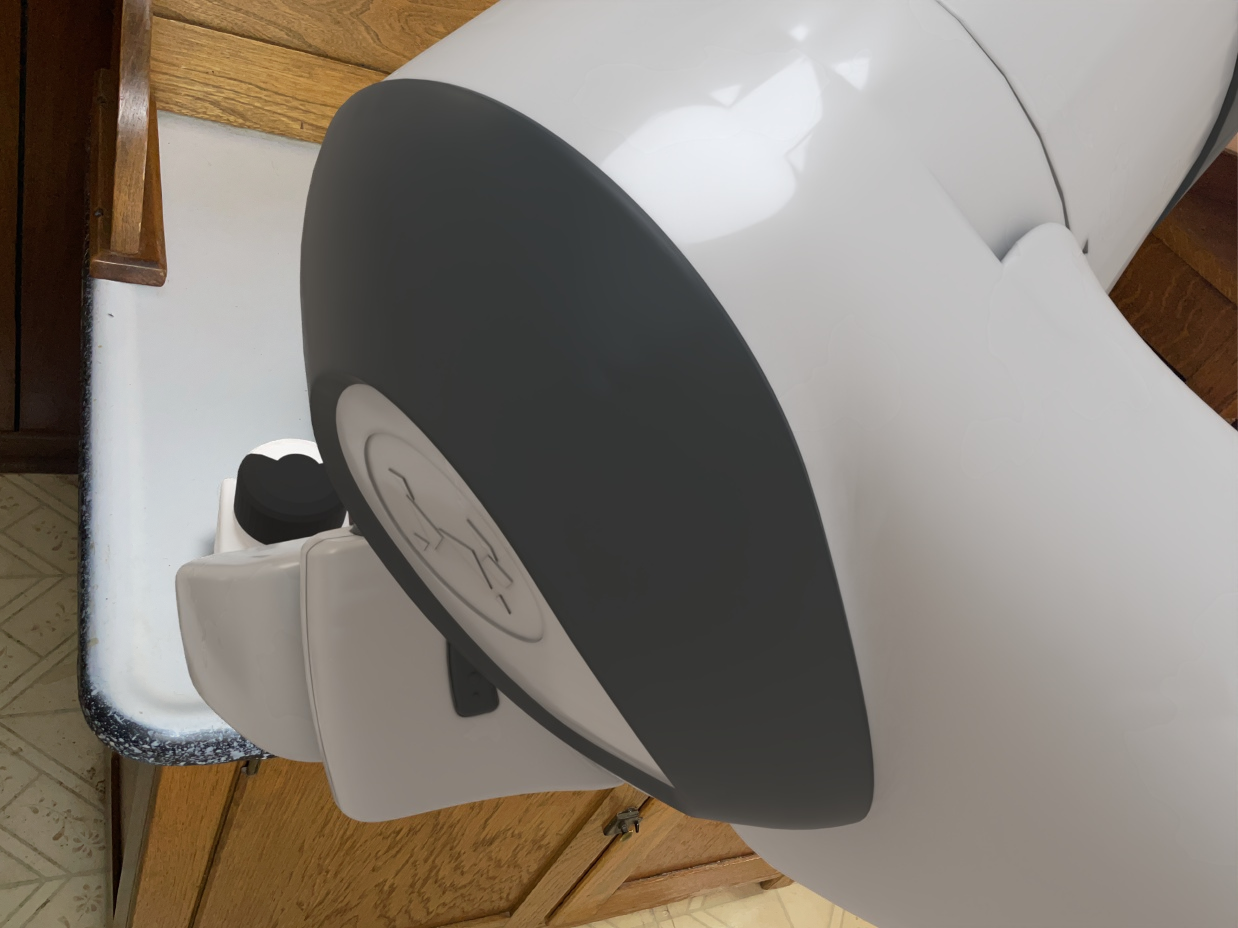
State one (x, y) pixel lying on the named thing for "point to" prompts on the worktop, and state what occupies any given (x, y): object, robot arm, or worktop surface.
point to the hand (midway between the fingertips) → (429, 534)
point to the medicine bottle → (277, 498)
